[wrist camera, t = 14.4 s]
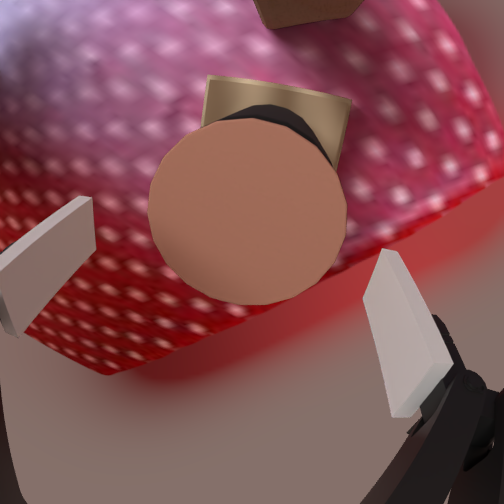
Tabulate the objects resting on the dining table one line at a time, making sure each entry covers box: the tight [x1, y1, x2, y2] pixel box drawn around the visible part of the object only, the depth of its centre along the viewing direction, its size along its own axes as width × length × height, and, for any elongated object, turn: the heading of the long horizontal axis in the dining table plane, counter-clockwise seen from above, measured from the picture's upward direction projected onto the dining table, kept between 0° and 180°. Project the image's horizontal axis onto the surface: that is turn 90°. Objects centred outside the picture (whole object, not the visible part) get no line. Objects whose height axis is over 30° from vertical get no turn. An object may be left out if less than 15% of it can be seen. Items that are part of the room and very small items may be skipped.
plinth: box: [201, 75, 352, 171], centre depth 34 cm, size 15×15×4 cm
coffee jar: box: [147, 104, 347, 305], centre depth 24 cm, size 11×11×18 cm
